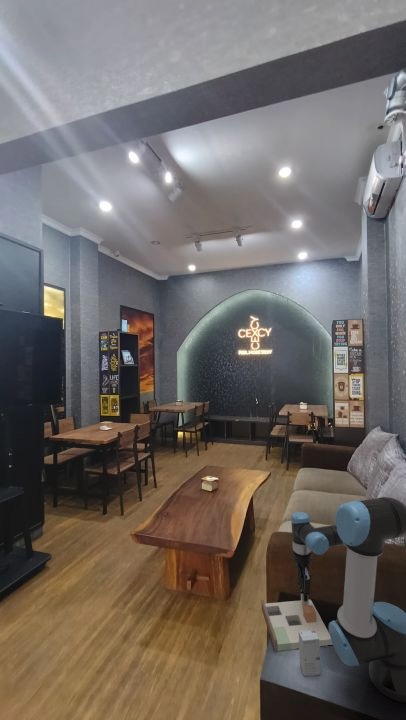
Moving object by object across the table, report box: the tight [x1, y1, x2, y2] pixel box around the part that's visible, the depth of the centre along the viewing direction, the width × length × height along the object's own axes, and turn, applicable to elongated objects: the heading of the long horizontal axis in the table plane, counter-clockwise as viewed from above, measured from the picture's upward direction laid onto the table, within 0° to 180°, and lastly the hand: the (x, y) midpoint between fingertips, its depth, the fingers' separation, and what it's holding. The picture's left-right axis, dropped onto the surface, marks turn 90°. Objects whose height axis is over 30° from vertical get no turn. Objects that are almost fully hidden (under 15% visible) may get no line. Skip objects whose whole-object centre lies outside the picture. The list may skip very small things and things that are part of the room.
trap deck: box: [260, 599, 333, 652], centre depth 140 cm, size 22×22×4 cm
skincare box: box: [298, 630, 321, 677], centre depth 120 cm, size 6×4×12 cm
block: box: [303, 604, 317, 623], centre depth 140 cm, size 4×4×4 cm
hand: (305, 606), depth 146 cm, fingers closed
